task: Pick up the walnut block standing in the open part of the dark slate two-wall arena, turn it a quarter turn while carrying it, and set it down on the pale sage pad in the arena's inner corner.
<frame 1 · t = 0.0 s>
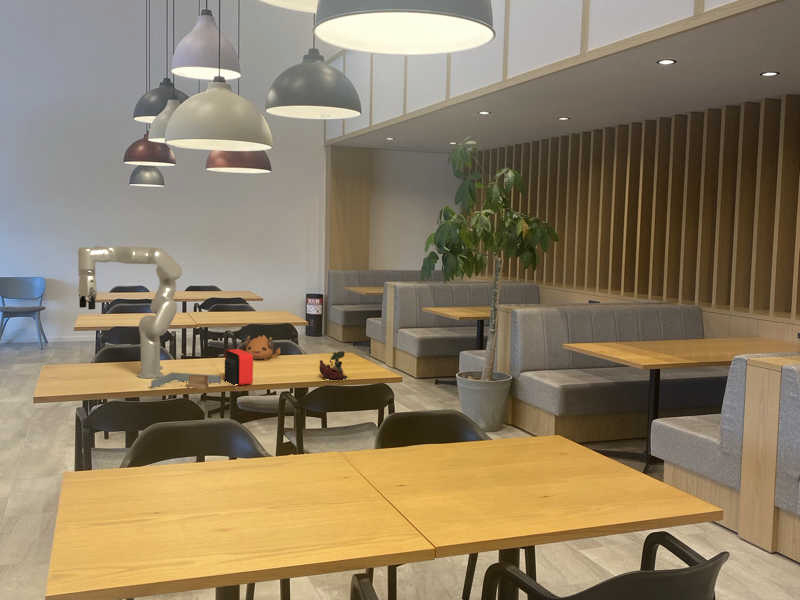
hand: (87, 308, 369), 37 cm above the table, tool pointing down, fingers open, 9 cm apart
multicoloured piece: (333, 379, 402), on the table
red black block: (237, 383, 386), on the table
walnut block: (198, 388, 372), on the table
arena: (187, 385, 376), on the table
toy: (261, 359, 454), on the table
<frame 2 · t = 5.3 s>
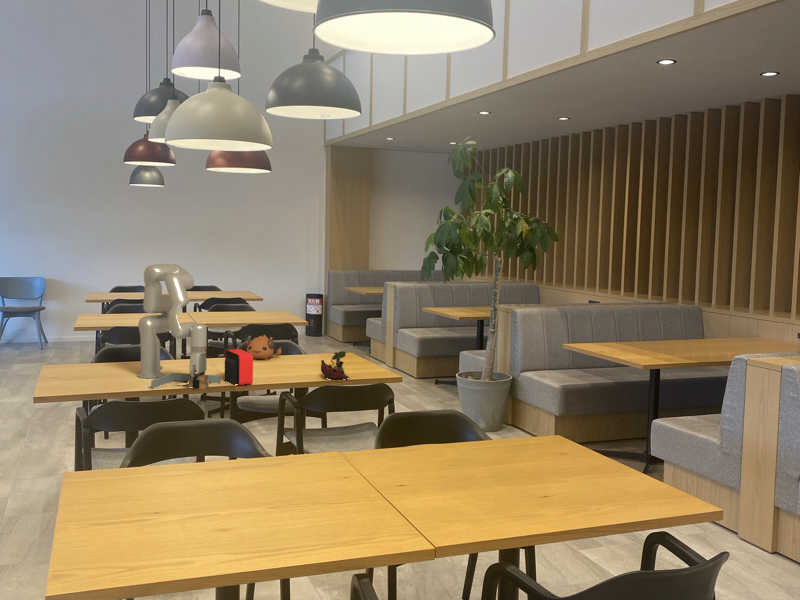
hand: (198, 386, 372), 1 cm above the table, tool pointing down, fingers closed on walnut block, 5 cm apart
walnut block: (198, 387, 372), on the table, touching gripper
when the fingers open (2 cm above the table, at t = 10.3 s): walnut block drops 1 cm, resting on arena.
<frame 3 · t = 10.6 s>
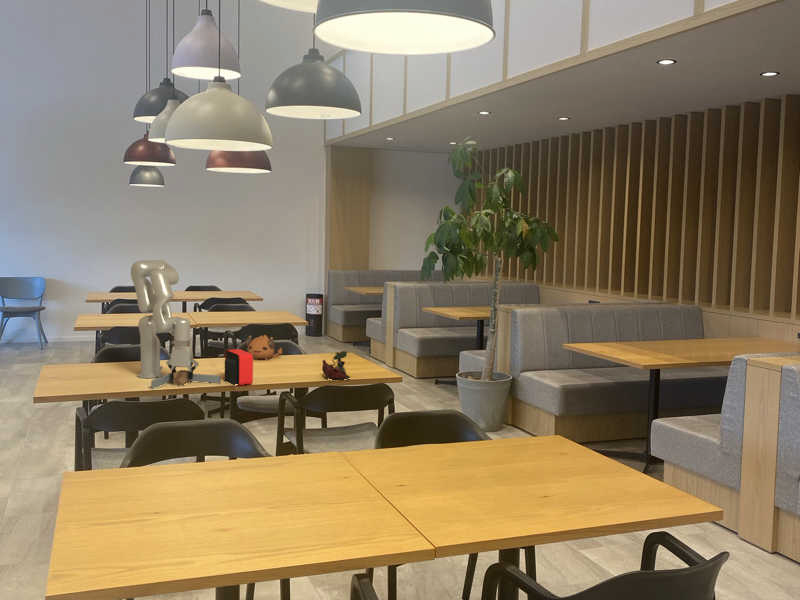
hand: (182, 378, 379), 3 cm above the table, tool pointing down, fingers open, 8 cm apart
walnut block: (181, 383, 379), resting on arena
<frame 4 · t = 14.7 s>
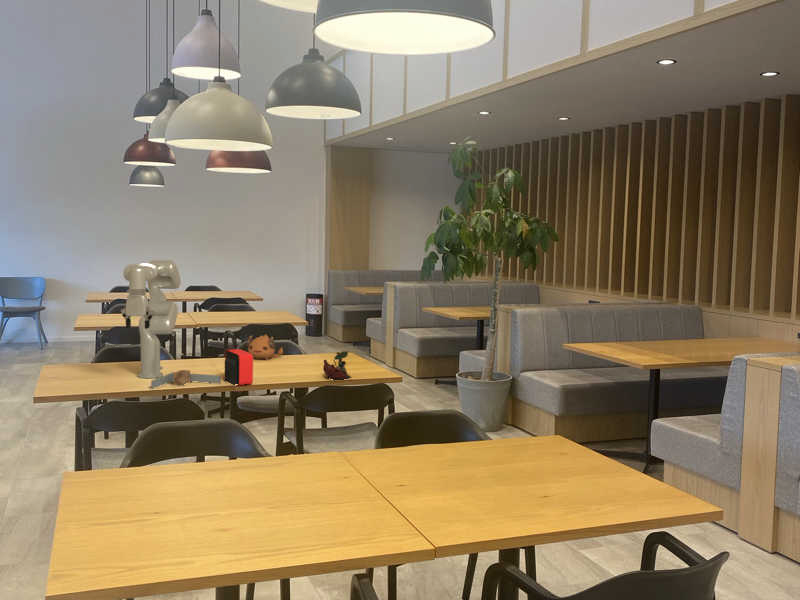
hand: (137, 327, 371), 28 cm above the table, tool pointing down, fingers open, 9 cm apart
at the end: walnut block 0.2 cm from the target spot on the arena, point 0.2 cm above the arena's base; walnut block tilted 0°; the gripper is holding nothing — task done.
